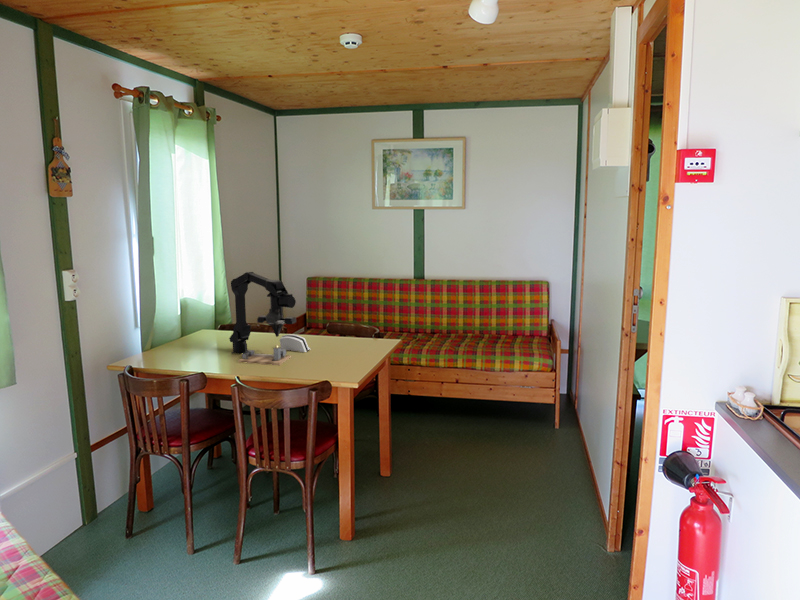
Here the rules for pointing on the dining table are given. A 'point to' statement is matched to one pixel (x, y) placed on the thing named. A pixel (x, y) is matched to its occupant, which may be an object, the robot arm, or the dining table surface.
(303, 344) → the grey curved block
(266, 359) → the brown wooden board
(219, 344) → the dining table surface
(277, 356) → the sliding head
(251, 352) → the rail
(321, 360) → the dining table surface
